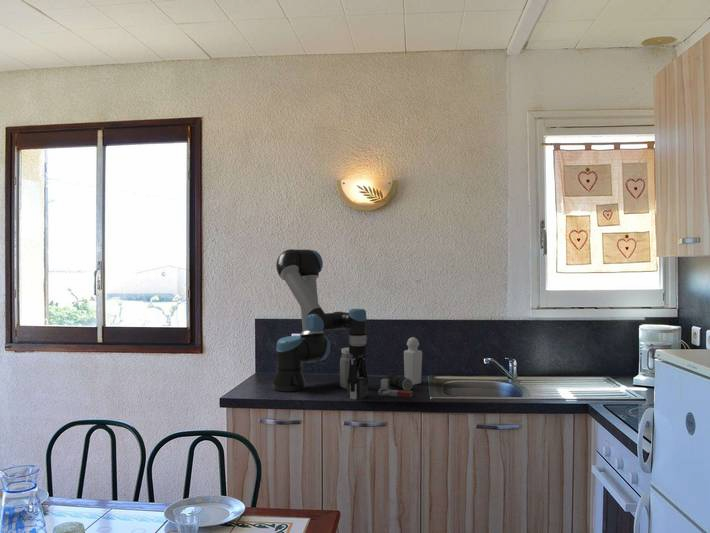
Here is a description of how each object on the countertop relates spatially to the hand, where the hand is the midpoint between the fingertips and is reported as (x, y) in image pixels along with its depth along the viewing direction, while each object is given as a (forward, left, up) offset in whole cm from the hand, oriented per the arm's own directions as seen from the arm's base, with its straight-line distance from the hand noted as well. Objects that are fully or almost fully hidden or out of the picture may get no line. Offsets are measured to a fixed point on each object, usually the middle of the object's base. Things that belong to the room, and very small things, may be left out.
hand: (357, 396), depth 234 cm
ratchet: (+14, +8, 0) cm, 16 cm away
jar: (-9, +15, 0) cm, 18 cm away
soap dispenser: (+16, +34, 0) cm, 38 cm away
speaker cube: (0, 0, 0) cm, 0 cm away
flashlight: (+12, +24, -1) cm, 26 cm away
